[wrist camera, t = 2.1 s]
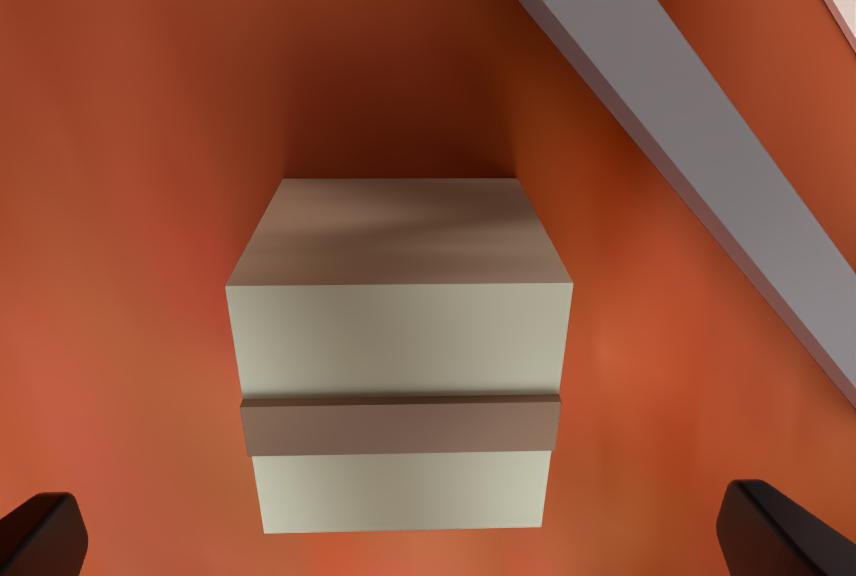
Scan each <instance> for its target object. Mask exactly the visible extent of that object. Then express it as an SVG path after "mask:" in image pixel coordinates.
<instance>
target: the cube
mask: <svg viewBox="0 0 856 576" xmlns="http://www.w3.org/2000/svg"><path fill="white" fill-rule="evenodd" d="M225 290H226V296H227V303H228V309H229V315H230V322H231V328H232V334H233V340H234V347H235V353H236V359H237V365H238V372H239V378H240V384H241V391H242V397H243V400H242V403H241V406H240V411H241V417H242V423H243V429H244V435H245V441H246V447H247V453H248V457H252V460H253V466H254V472H255V478H256V485H257V491H258V497H259V504H260V510H261V516H262V522H263V529H264V534H267V533H308V532H350V531H392V530H433V529H475V528H516V527H541V524H542V517H543V509H544V502H545V494H546V486H547V479H548V471H549V464H550V456H551V451H555V447H556V439H557V432H558V425H559V417H560V410H561V403H562V402H561V399H560V396H559V388H560V381H561V373H562V366H563V358H564V351H565V343H566V336H567V328H568V321H569V313H570V306H571V298H572V290H573V281H572V279H571V277H570V275H569V274H568V272H567V270H566V268H565V266H564V264H563V262H562V261H561V259H560V257H559V255H558V253H557V251H556V249H555V247H554V246H553V244H552V242H551V240H550V238H549V236H548V234H547V232H546V231H545V229H544V227H543V225H542V223H541V221H540V219H539V217H538V216H537V214H536V212H535V210H534V208H533V206H532V204H531V203H530V201H529V199H528V197H527V195H526V193H525V191H524V189H523V188H522V186H521V184H520V182H519V180H518V178H354V179H282V181H281V183H280V185H279V187H278V189H277V191H276V192H275V194H274V196H273V198H272V200H271V202H270V203H269V205H268V207H267V209H266V211H265V213H264V215H263V216H262V218H261V220H260V222H259V224H258V226H257V228H256V229H255V231H254V233H253V235H252V237H251V239H250V240H249V242H248V244H247V246H246V248H245V250H244V252H243V253H242V255H241V257H240V259H239V261H238V263H237V265H236V266H235V268H234V270H233V272H232V274H231V276H230V277H229V279H228V281H227V283H226V285H225Z"/></svg>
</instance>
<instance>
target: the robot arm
mask: <svg viewBox="0 0 856 576" xmlns="http://www.w3.org/2000/svg"><path fill="white" fill-rule="evenodd" d="M716 531H717V537H718V540H719V543H720V546H721V549H722V552H723V555H724V558H725V561H726V564H727V567H728V570H729V573H730V576H856V544H854V543H853V542H851V541H850V540H849V539H847V538H846V537H844V536H843V535H841V534H840V533H839V532H837V531H836V530H834V529H833V528H831V527H830V526H828V525H827V524H826V523H824V522H823V521H821V520H820V519H818V518H817V517H816V516H814V515H813V514H811V513H810V512H808V511H807V510H805V509H804V508H803V507H801V506H800V505H798V504H797V503H795V502H794V501H793V500H791V499H790V498H788V497H787V496H785V495H784V494H782V493H781V492H780V491H778V490H777V489H775V488H774V487H772V486H771V485H770V484H768V483H766V482H765V481H762V480H758V479H742V480H733V481H731V482H730V483H729V484H728V486H727V489H726V492H725V495H724V499H723V502H722V505H721V508H720V512H719V515H718V518H717V523H716ZM87 548H88V534H87V530H86V527H85V524H84V521H83V518H82V516H81V513H80V510H79V507H78V504H77V501H76V499H75V497H74V496H73V495H72V494H71V493H68V492H43V493H39V494H36V495H35V496H33V497H31V498H30V499H28V500H27V501H26V502H24V503H23V504H21V505H20V506H19V507H17V508H16V509H14V510H13V511H12V512H10V513H9V514H7V515H6V516H5V517H3V518H2V519H0V576H79V574H80V571H81V568H82V565H83V562H84V559H85V556H86V552H87Z"/></svg>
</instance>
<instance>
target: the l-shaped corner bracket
mask: <svg viewBox="0 0 856 576" xmlns="http://www.w3.org/2000/svg"><path fill="white" fill-rule="evenodd" d="M518 1H519V2H520V4H521V5H522V6H523V7H524V8H525V10H526V11H527V12H528V13H529V14H530V16H531V17H532V18H533V19H534V20H535V22H536V23H537V24H538V25H539V27H540V28H541V29H542V30H543V31H544V33H545V34H546V35H547V36H548V37H549V39H550V40H551V41H552V42H553V44H554V45H555V46H556V47H557V48H558V50H559V51H560V52H561V53H562V54H563V56H564V57H565V58H566V59H567V60H568V62H569V63H570V64H571V65H572V67H573V68H574V69H575V70H576V71H577V73H578V74H579V75H580V76H581V77H582V79H583V80H584V81H585V82H586V83H587V85H588V86H589V87H590V88H591V90H592V91H593V92H594V93H595V94H596V96H597V97H598V98H599V99H600V100H601V102H602V103H603V104H604V105H605V106H606V108H607V109H608V110H609V111H610V113H611V114H612V115H613V116H614V117H615V119H616V120H617V121H618V122H619V123H620V125H621V126H622V127H623V128H624V130H625V131H626V132H627V133H628V134H629V136H630V137H631V138H632V139H633V140H634V142H635V143H636V144H637V145H638V146H639V148H640V149H641V150H642V151H643V153H644V154H645V155H646V156H647V157H648V159H649V160H650V161H651V162H652V163H653V165H654V166H655V167H656V168H657V169H658V171H659V172H660V173H661V174H662V176H663V177H664V178H665V179H666V180H667V182H668V183H669V184H670V185H671V186H672V188H673V189H674V190H675V191H676V192H677V194H678V195H679V196H680V197H681V199H682V200H683V201H684V202H685V203H686V205H687V206H688V207H689V208H690V209H691V211H692V212H693V213H694V214H695V216H696V217H697V218H698V219H699V220H700V222H701V223H702V224H703V225H704V226H705V228H706V229H707V230H708V231H709V232H710V234H711V235H712V236H713V237H714V239H715V240H716V241H717V242H718V243H719V245H720V246H721V247H722V248H723V249H724V251H725V252H726V253H727V254H728V255H729V257H730V258H731V259H732V260H733V262H734V263H735V264H736V265H737V266H738V268H739V269H740V270H741V271H742V272H743V274H744V275H745V276H746V277H747V278H748V280H749V281H750V282H751V283H752V285H753V286H754V287H755V288H756V289H757V291H758V292H759V293H760V294H761V295H762V297H763V298H764V299H765V300H766V301H767V303H768V304H769V305H770V306H771V308H772V309H773V310H774V311H775V312H776V314H777V315H778V316H779V317H780V318H781V320H782V321H783V322H784V323H785V325H786V326H787V327H788V328H789V329H790V331H791V332H792V333H793V334H794V335H795V337H796V338H797V339H798V340H799V341H800V343H801V344H802V345H803V346H804V348H805V349H806V350H807V351H808V352H809V354H810V355H811V356H812V357H813V358H814V360H815V361H816V362H817V363H818V364H819V366H820V367H821V368H822V369H823V371H824V372H825V373H826V374H827V375H828V377H829V378H830V379H831V380H832V381H833V383H834V384H835V385H836V386H837V387H838V389H839V390H840V391H841V392H842V394H843V395H844V396H845V397H846V398H847V400H848V401H849V402H850V403H851V404H852V406H853V407H854V408H855V409H856V274H855V272H854V271H853V269H852V268H851V267H850V265H849V264H848V263H847V261H846V260H845V258H844V257H843V256H842V254H841V253H840V252H839V250H838V249H837V247H836V246H835V245H834V243H833V242H832V241H831V239H830V238H829V236H828V235H827V234H826V232H825V231H824V229H823V228H822V227H821V225H820V224H819V223H818V221H817V220H816V218H815V217H814V216H813V214H812V213H811V212H810V210H809V209H808V207H807V206H806V205H805V203H804V202H803V201H802V199H801V198H800V196H799V195H798V194H797V192H796V191H795V189H794V188H793V187H792V185H791V184H790V183H789V181H788V180H787V178H786V177H785V176H784V174H783V173H782V172H781V170H780V169H779V167H778V166H777V165H776V163H775V162H774V160H773V159H772V158H771V156H770V155H769V154H768V152H767V151H766V149H765V148H764V147H763V145H762V144H761V143H760V141H759V140H758V138H757V137H756V136H755V134H754V133H753V132H752V130H751V129H750V127H749V126H748V125H747V123H746V122H745V120H744V119H743V118H742V116H741V115H740V114H739V112H738V111H737V109H736V108H735V107H734V105H733V104H732V103H731V101H730V100H729V98H728V97H727V96H726V94H725V93H724V92H723V90H722V89H721V87H720V86H719V85H718V83H717V82H716V80H715V79H714V78H713V76H712V75H711V74H710V72H709V71H708V69H707V68H706V67H705V65H704V64H703V63H702V61H701V60H700V58H699V57H698V56H697V54H696V53H695V52H694V50H693V49H692V47H691V46H690V45H689V43H688V42H687V40H686V39H685V38H684V36H683V35H682V34H681V32H680V31H679V29H678V28H677V27H676V25H675V24H674V23H673V21H672V20H671V18H670V17H669V16H668V14H667V13H666V12H665V10H664V9H663V7H662V6H661V5H660V3H659V2H658V0H518ZM824 1H825V3H826V5H827V6H828V8H829V10H830V11H831V13H832V15H833V16H834V18H835V20H836V21H837V23H838V25H839V26H840V28H841V30H842V31H843V33H844V35H845V36H846V38H847V39H848V41H849V43H850V44H851V46H852V48H853V49H854V51H855V53H856V0H824Z"/></svg>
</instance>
